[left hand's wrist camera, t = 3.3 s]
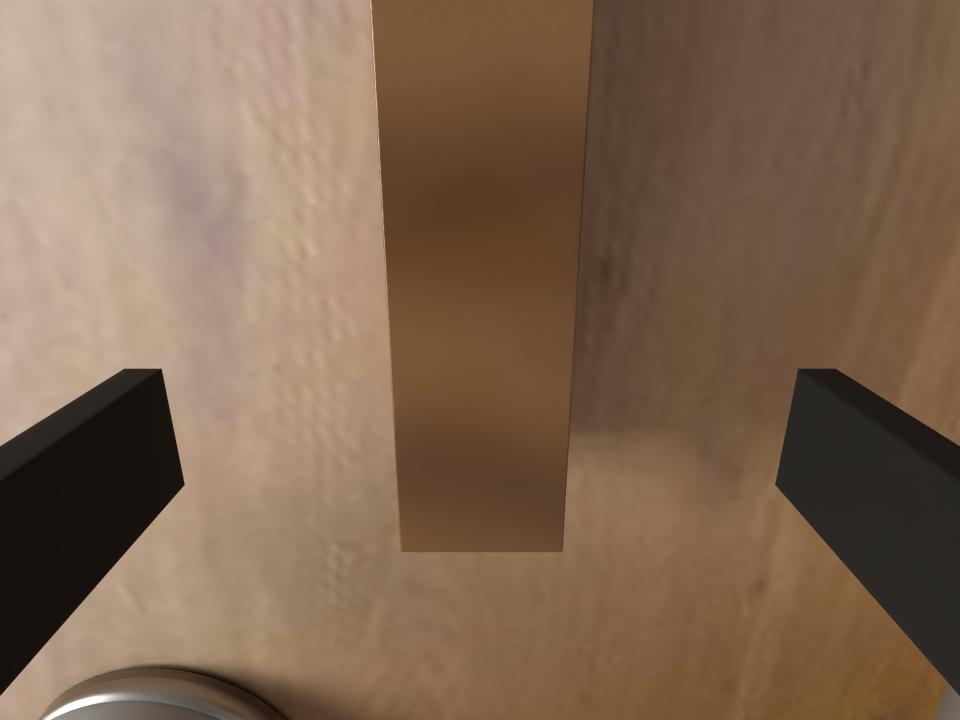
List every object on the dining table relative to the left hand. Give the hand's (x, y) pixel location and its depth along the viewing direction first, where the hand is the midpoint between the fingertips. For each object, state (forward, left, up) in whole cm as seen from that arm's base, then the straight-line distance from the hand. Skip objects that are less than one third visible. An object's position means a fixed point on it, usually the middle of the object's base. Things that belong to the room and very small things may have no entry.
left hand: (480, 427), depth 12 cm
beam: (+20, +4, -12) cm, 24 cm away
